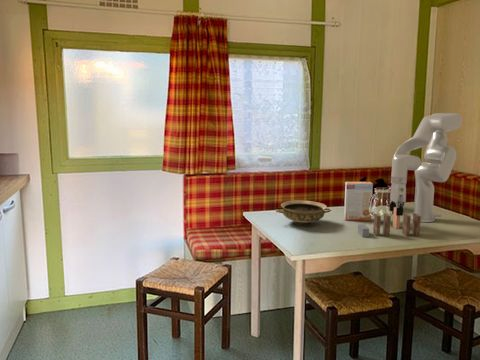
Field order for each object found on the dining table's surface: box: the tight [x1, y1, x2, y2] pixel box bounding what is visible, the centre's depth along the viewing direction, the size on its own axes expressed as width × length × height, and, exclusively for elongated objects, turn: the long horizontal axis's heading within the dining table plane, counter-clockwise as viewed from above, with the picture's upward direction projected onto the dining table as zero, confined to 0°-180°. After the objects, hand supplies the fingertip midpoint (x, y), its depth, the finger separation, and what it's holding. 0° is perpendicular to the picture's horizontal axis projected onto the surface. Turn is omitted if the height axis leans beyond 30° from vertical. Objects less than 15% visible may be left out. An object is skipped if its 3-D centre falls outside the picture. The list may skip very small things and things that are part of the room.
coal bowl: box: [358, 176, 389, 195], centre depth 268 cm, size 20×20×19 cm
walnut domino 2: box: [382, 212, 392, 237], centre depth 216 cm, size 2×5×10 cm, turn 1°
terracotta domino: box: [392, 206, 401, 229], centre depth 229 cm, size 2×5×10 cm, turn 0°
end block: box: [357, 223, 370, 238], centre depth 217 cm, size 3×8×4 cm, turn 1°
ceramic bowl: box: [275, 199, 332, 226], centre depth 236 cm, size 30×24×10 cm
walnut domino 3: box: [401, 212, 412, 237], centre depth 216 cm, size 2×5×10 cm, turn 0°
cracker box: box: [343, 181, 374, 222], centre depth 243 cm, size 14×6×21 cm, turn 84°
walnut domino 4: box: [411, 212, 421, 237], centre depth 216 cm, size 2×5×10 cm, turn 0°
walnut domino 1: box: [372, 212, 382, 237], centre depth 216 cm, size 2×5×10 cm, turn 1°
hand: (395, 213), depth 228 cm, fingers open, 9 cm apart
